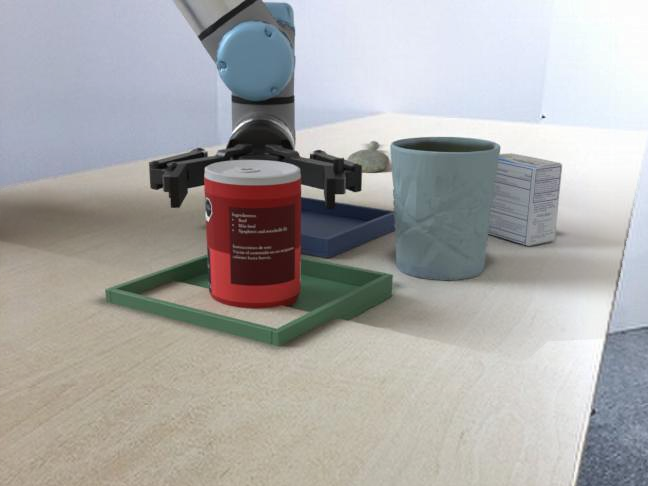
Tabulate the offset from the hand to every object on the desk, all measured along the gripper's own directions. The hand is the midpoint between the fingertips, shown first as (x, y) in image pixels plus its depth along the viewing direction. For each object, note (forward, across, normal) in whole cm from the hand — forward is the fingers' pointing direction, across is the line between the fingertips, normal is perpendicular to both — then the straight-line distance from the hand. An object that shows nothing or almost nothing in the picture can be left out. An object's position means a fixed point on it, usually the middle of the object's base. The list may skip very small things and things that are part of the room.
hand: (253, 193), depth 74 cm
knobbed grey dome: (-67, -16, -8) cm, 70 cm away
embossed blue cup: (-6, -18, -8) cm, 20 cm away
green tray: (+5, 0, -8) cm, 10 cm away
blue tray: (-19, -5, -8) cm, 22 cm away
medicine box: (-18, -28, -8) cm, 35 cm away
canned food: (+5, 0, -8) cm, 10 cm away
